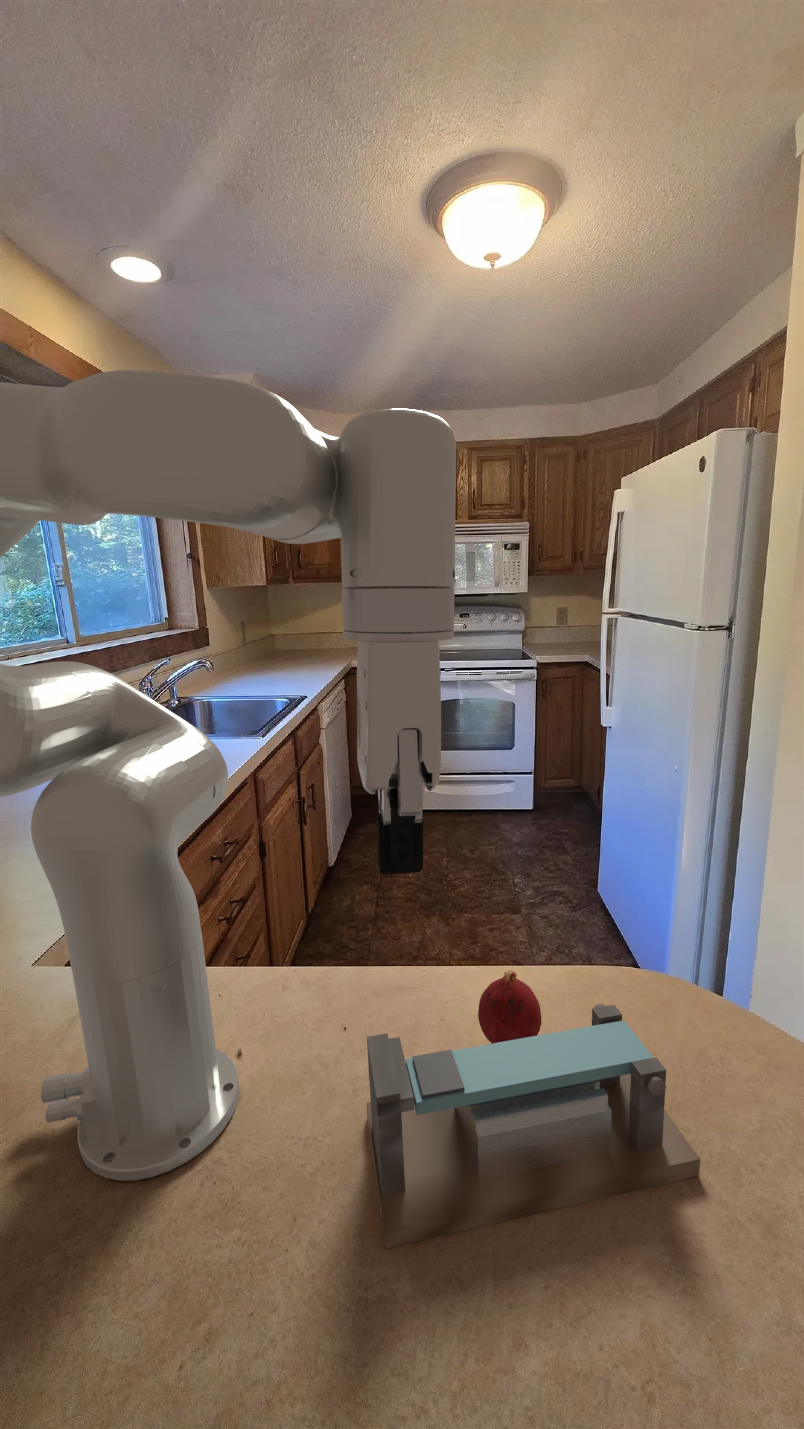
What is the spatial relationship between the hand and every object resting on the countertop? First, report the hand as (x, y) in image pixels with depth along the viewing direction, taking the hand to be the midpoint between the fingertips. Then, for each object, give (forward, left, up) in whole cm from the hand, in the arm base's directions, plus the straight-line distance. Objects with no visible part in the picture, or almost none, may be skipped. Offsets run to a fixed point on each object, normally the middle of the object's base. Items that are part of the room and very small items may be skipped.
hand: (399, 868), depth 43 cm
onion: (+11, +6, -23) cm, 26 cm away
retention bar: (+9, -4, -16) cm, 18 cm away
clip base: (+8, -4, -22) cm, 24 cm away
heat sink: (+9, -4, -21) cm, 23 cm away
